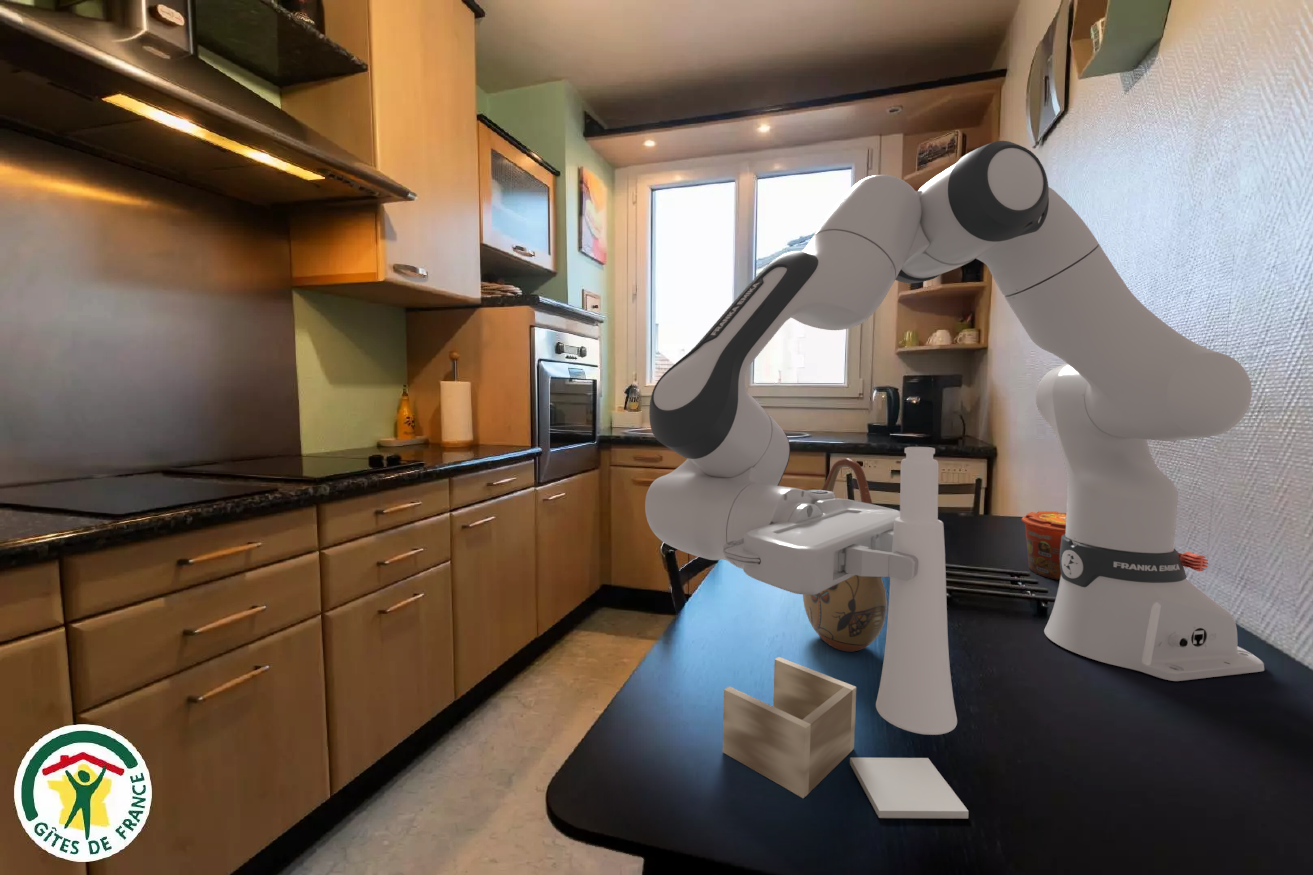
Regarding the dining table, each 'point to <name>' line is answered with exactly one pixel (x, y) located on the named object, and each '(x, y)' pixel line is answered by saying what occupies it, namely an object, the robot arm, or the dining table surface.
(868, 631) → the ceramic vessel
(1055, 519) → the food container
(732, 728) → the beech cradle
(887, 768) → the stone coaster
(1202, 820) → the dining table surface
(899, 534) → the cosmetic bottle
